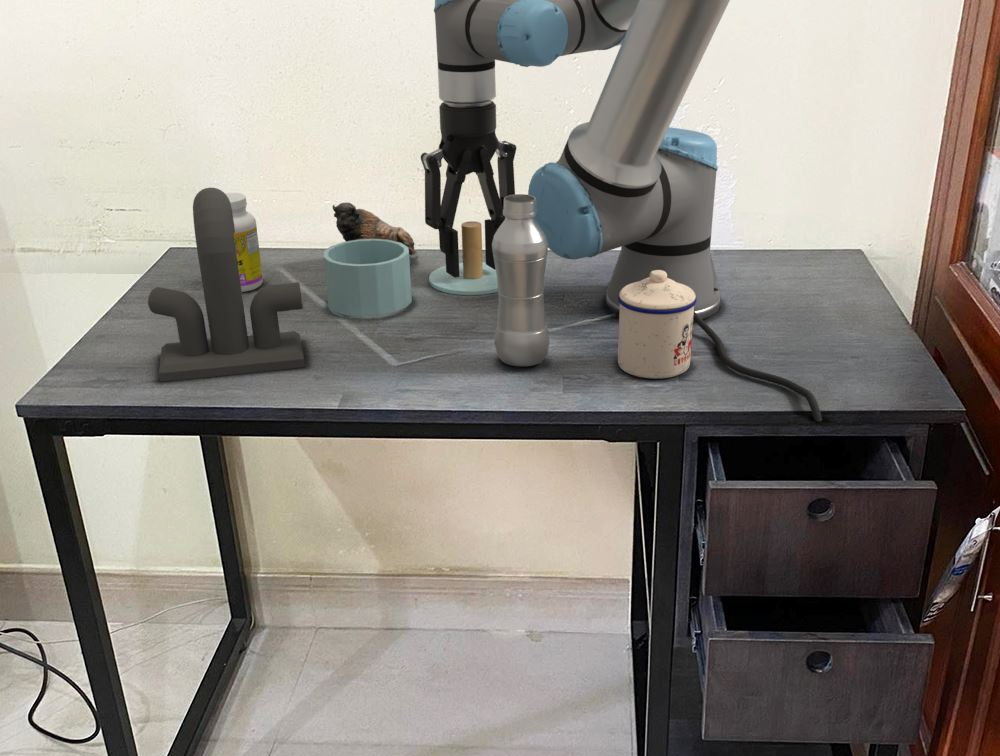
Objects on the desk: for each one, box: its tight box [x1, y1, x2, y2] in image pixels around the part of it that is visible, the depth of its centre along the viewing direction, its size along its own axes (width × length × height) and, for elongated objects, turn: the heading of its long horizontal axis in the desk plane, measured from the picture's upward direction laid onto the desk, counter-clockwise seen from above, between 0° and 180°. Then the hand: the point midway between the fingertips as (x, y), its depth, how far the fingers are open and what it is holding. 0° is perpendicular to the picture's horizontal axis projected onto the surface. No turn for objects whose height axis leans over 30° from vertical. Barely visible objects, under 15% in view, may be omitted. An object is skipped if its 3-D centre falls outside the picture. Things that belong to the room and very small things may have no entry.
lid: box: [428, 220, 499, 296], centre depth 162 cm, size 13×13×9 cm
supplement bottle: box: [224, 192, 264, 293], centre depth 162 cm, size 7×7×13 cm
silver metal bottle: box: [492, 193, 550, 367], centre depth 135 cm, size 6×7×20 cm
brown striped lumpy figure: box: [332, 202, 419, 265], centre depth 168 cm, size 12×7×10 cm, turn 96°
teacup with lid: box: [617, 270, 697, 380], centre depth 136 cm, size 12×9×12 cm
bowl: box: [322, 239, 413, 319], centre depth 156 cm, size 11×11×8 cm
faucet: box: [147, 187, 306, 383], centre depth 140 cm, size 18×16×20 cm
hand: (472, 270), depth 163 cm, fingers open, 6 cm apart
